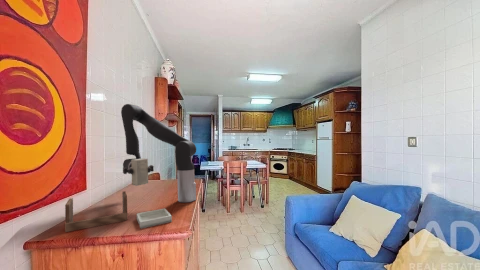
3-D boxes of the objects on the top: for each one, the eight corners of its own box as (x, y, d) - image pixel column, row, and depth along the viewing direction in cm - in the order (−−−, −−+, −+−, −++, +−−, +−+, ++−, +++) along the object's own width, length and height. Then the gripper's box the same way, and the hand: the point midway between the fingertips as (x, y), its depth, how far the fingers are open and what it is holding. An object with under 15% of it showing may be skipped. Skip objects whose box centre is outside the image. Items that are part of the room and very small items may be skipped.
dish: (165, 213, 101) (165, 208, 101) (171, 221, 90) (171, 215, 90) (136, 219, 94) (136, 213, 94) (140, 228, 84) (140, 222, 84)
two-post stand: (125, 212, 104) (125, 191, 104) (127, 220, 94) (127, 196, 94) (69, 222, 93) (69, 198, 93) (65, 232, 83) (64, 205, 83)
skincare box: (144, 182, 108) (143, 158, 108) (148, 183, 105) (148, 158, 105) (131, 185, 103) (130, 159, 103) (135, 186, 100) (135, 159, 100)
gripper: (121, 161, 113) (123, 164, 99) (150, 159, 120) (156, 161, 106) (121, 175, 113) (123, 181, 99) (150, 173, 120) (156, 177, 106)
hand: (140, 171), depth 102 cm, fingers closed on skincare box, 7 cm apart
